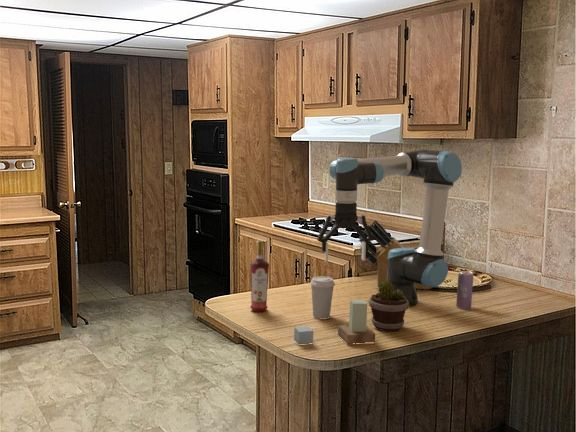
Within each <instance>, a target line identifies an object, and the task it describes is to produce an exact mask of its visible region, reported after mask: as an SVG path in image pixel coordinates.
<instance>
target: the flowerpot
mask: <svg viewBox="0 0 576 432" xmlns="http://www.w3.org/2000/svg"><path fill="white" fill-rule="evenodd" d="M380 283H381V284H380V285H379V286H380V287H378V286H377V293H376V294H371V297H369V298H368V305H369V307H370V309H371V314H372V317H371V323H372V325H373V326H375V327H376V328H375V327H374V328H375V329H377V328H378V329H377V330H379V329H381V330H380V331H383V330H384V332H398V331H400V330H401V329H402V327H404V325H405V319H404V317H405V315H406V311H407V310H408V309H409V302H408V300H407V299H406V297H405V296H404V295H403V294H402V292H400V291H398V290H397V291H393V292H392V289H393V288H394V286H393V287H392V282H389V279H388V281H387V278H386V280H383V282H382V281H380ZM393 290H394V289H393ZM397 330H398V331H397Z"/></svg>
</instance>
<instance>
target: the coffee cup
mask: <svg viewBox="0 0 576 432" xmlns="http://www.w3.org/2000/svg"><path fill="white" fill-rule="evenodd" d="M309 285H310V286H311V305H312V316H314V317H315V318H314V317H313V318H314V319H317V318H327V319H329V318H330V317H331V309H332V301H333V294H334V293H333V292H334V286H335V285H336V283H335V281H334V279H333V278H332V277H330V276H325V275H324V276H323V275H322V276H313V277H312V279H311V281H310V282H309ZM328 317H329V318H328Z"/></svg>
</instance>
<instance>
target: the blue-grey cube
mask: <svg viewBox="0 0 576 432" xmlns="http://www.w3.org/2000/svg"><path fill="white" fill-rule="evenodd" d="M294 340H295V341H296V342H297V343H298V344H309V343H313V344H314V330H313V329H312V328H311V327H310V326H309V325H304V326H295V327H294V329H293V341H294ZM298 344H297V345H298Z"/></svg>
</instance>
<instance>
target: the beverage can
mask: <svg viewBox="0 0 576 432" xmlns="http://www.w3.org/2000/svg"><path fill="white" fill-rule="evenodd" d="M457 275H458V276H457V277H458V278H457V290H456V304H455V306H456V308H457V309H459V310H466V311H467V310H470V309H471V308H472V301H473V300H472V299H473V288H474V287H473V286H474V272H472V271H470V270H460V271H459V272H458V274H457Z"/></svg>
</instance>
